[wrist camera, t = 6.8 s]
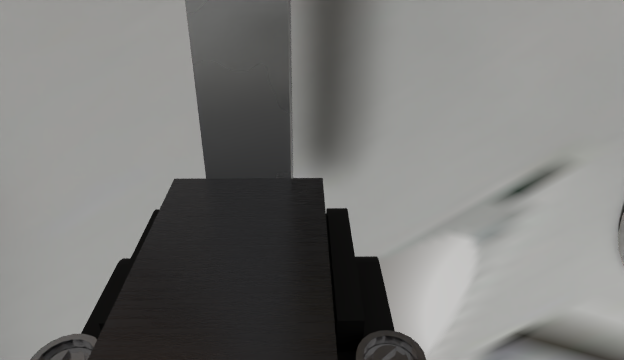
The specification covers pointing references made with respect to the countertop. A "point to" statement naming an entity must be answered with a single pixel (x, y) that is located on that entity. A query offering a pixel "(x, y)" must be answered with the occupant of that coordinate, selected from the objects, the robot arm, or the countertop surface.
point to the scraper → (233, 215)
